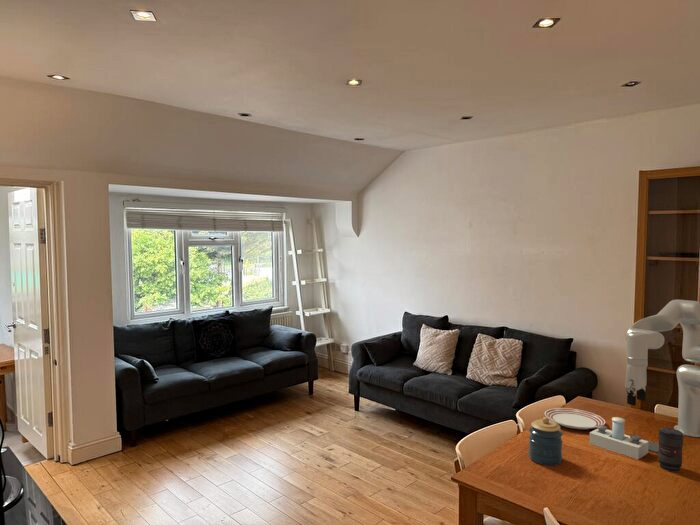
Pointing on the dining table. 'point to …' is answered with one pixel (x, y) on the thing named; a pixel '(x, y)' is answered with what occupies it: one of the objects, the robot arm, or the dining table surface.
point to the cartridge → (618, 428)
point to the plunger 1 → (601, 428)
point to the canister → (545, 442)
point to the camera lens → (670, 449)
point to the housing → (619, 444)
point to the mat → (653, 447)
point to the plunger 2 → (635, 439)
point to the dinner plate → (574, 418)
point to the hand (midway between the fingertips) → (636, 402)
